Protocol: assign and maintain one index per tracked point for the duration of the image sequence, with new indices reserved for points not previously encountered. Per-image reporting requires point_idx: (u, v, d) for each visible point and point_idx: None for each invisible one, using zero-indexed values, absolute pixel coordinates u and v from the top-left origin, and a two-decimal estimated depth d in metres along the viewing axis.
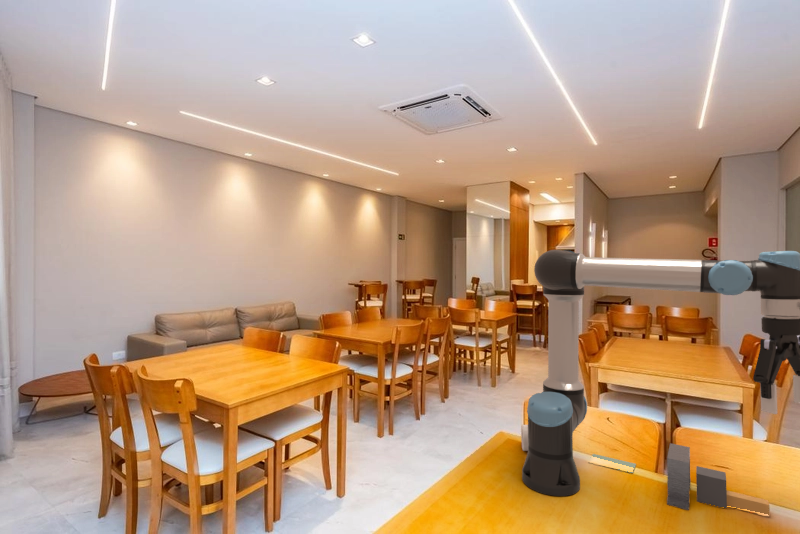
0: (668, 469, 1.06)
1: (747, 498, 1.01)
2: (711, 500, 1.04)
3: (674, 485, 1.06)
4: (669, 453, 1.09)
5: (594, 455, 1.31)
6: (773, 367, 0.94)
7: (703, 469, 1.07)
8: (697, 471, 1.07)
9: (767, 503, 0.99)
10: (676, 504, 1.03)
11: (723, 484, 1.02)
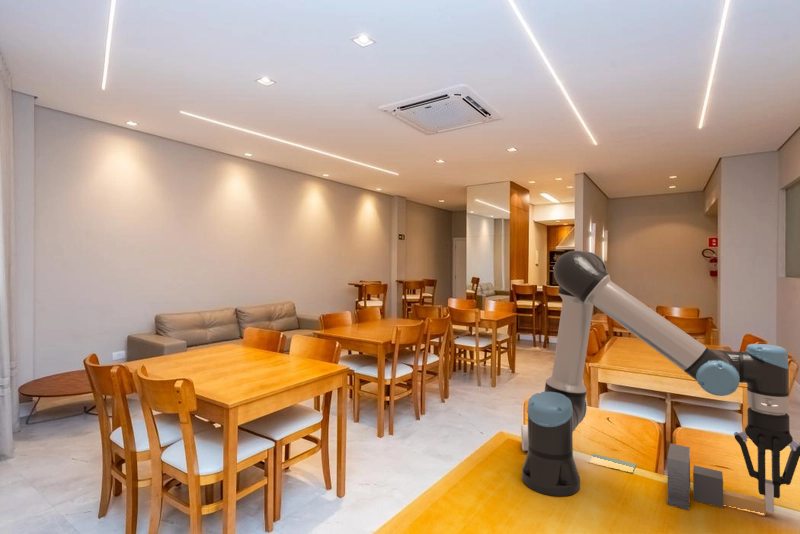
0: (668, 469, 1.06)
1: (743, 497, 1.01)
2: (708, 499, 1.04)
3: (674, 485, 1.06)
4: (669, 453, 1.09)
5: (594, 455, 1.31)
6: (758, 463, 1.00)
7: (700, 468, 1.08)
8: (694, 470, 1.07)
9: (763, 502, 0.99)
10: (676, 504, 1.03)
11: (720, 484, 1.03)
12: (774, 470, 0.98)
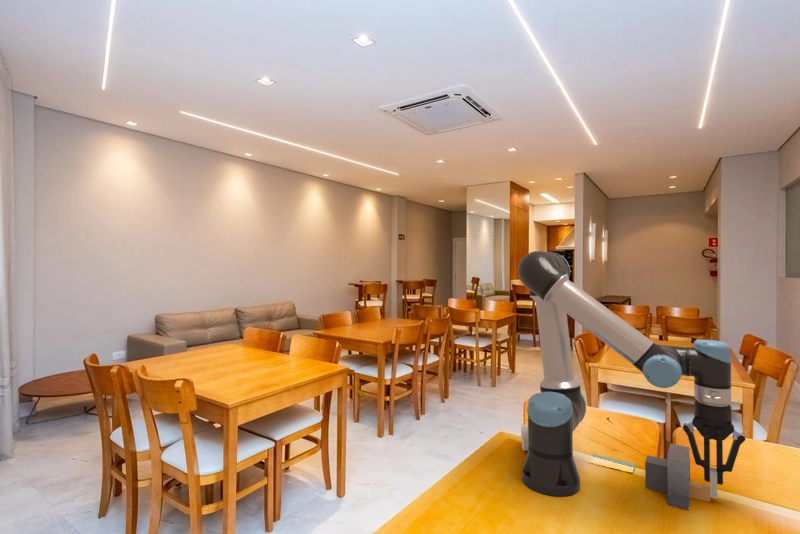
0: (668, 469, 1.06)
1: (690, 484, 1.08)
2: (658, 486, 1.10)
3: (674, 485, 1.06)
4: (669, 453, 1.09)
5: (594, 455, 1.31)
6: None
7: (652, 458, 1.14)
8: (646, 459, 1.13)
9: (708, 488, 1.06)
10: (676, 504, 1.03)
11: None
12: (718, 458, 1.04)
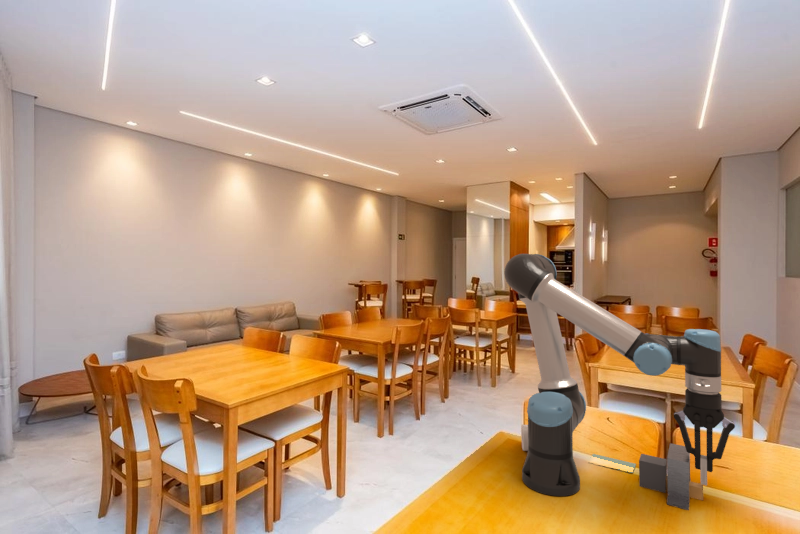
0: (668, 469, 1.06)
1: None
2: (652, 485, 1.11)
3: (674, 485, 1.06)
4: (669, 453, 1.09)
5: (594, 455, 1.31)
6: None
7: (646, 456, 1.15)
8: (640, 458, 1.14)
9: (701, 487, 1.06)
10: (676, 504, 1.03)
11: (662, 470, 1.10)
12: (708, 446, 1.05)
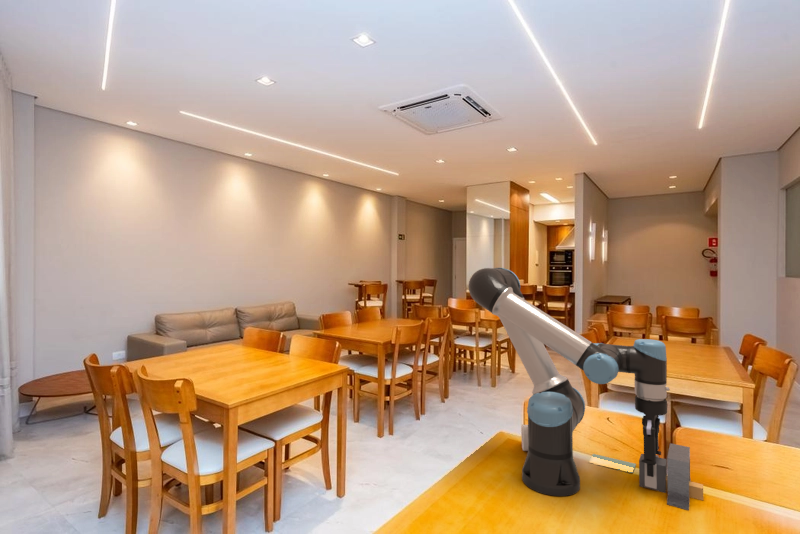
0: (668, 469, 1.06)
1: None
2: None
3: (674, 485, 1.06)
4: (669, 453, 1.09)
5: (594, 455, 1.31)
6: None
7: None
8: (640, 458, 1.14)
9: (701, 487, 1.06)
10: (676, 504, 1.03)
11: (662, 470, 1.10)
12: (657, 444, 1.15)
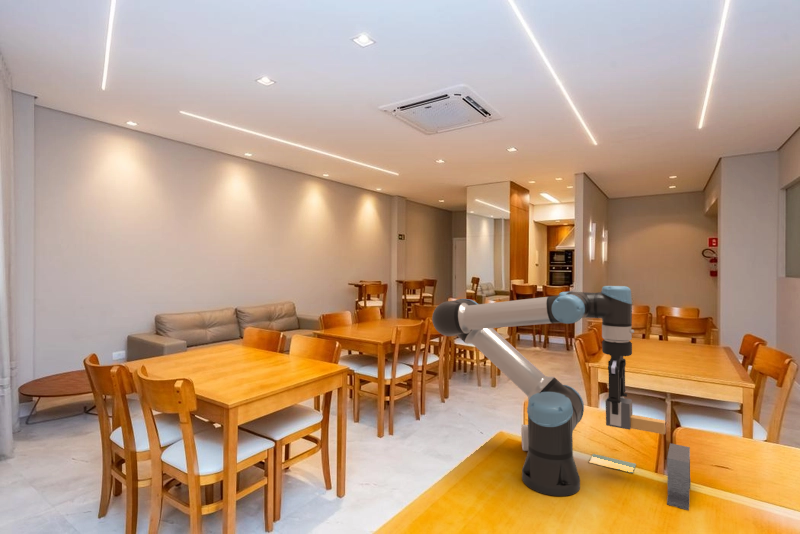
0: (668, 469, 1.06)
1: (647, 419, 1.13)
2: None
3: (674, 485, 1.06)
4: (669, 453, 1.09)
5: (594, 455, 1.31)
6: None
7: None
8: None
9: (663, 422, 1.11)
10: (676, 504, 1.03)
11: (627, 408, 1.15)
12: (623, 386, 1.20)
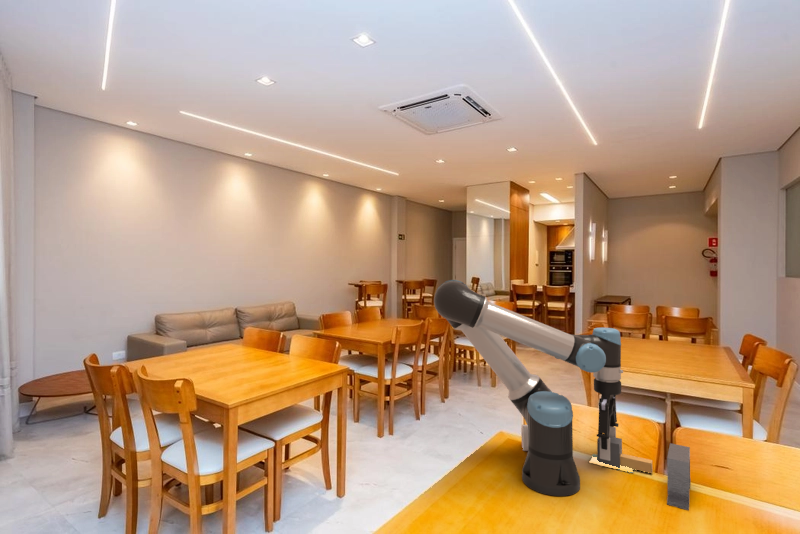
0: (668, 469, 1.06)
1: (635, 459, 1.22)
2: (608, 461, 1.24)
3: (674, 485, 1.06)
4: (669, 453, 1.09)
5: (594, 455, 1.31)
6: None
7: None
8: (599, 438, 1.27)
9: (650, 462, 1.20)
10: (676, 504, 1.03)
11: (617, 448, 1.23)
12: (614, 418, 1.29)
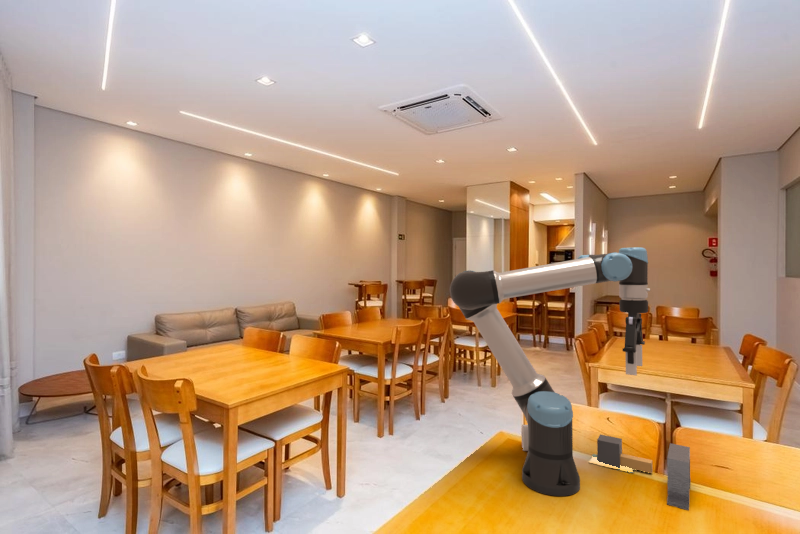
0: (668, 469, 1.06)
1: (635, 459, 1.22)
2: (608, 461, 1.24)
3: (674, 485, 1.06)
4: (669, 453, 1.09)
5: (594, 455, 1.31)
6: None
7: (604, 437, 1.28)
8: (599, 438, 1.27)
9: (650, 462, 1.20)
10: (676, 504, 1.03)
11: (617, 448, 1.23)
12: (640, 337, 1.28)
